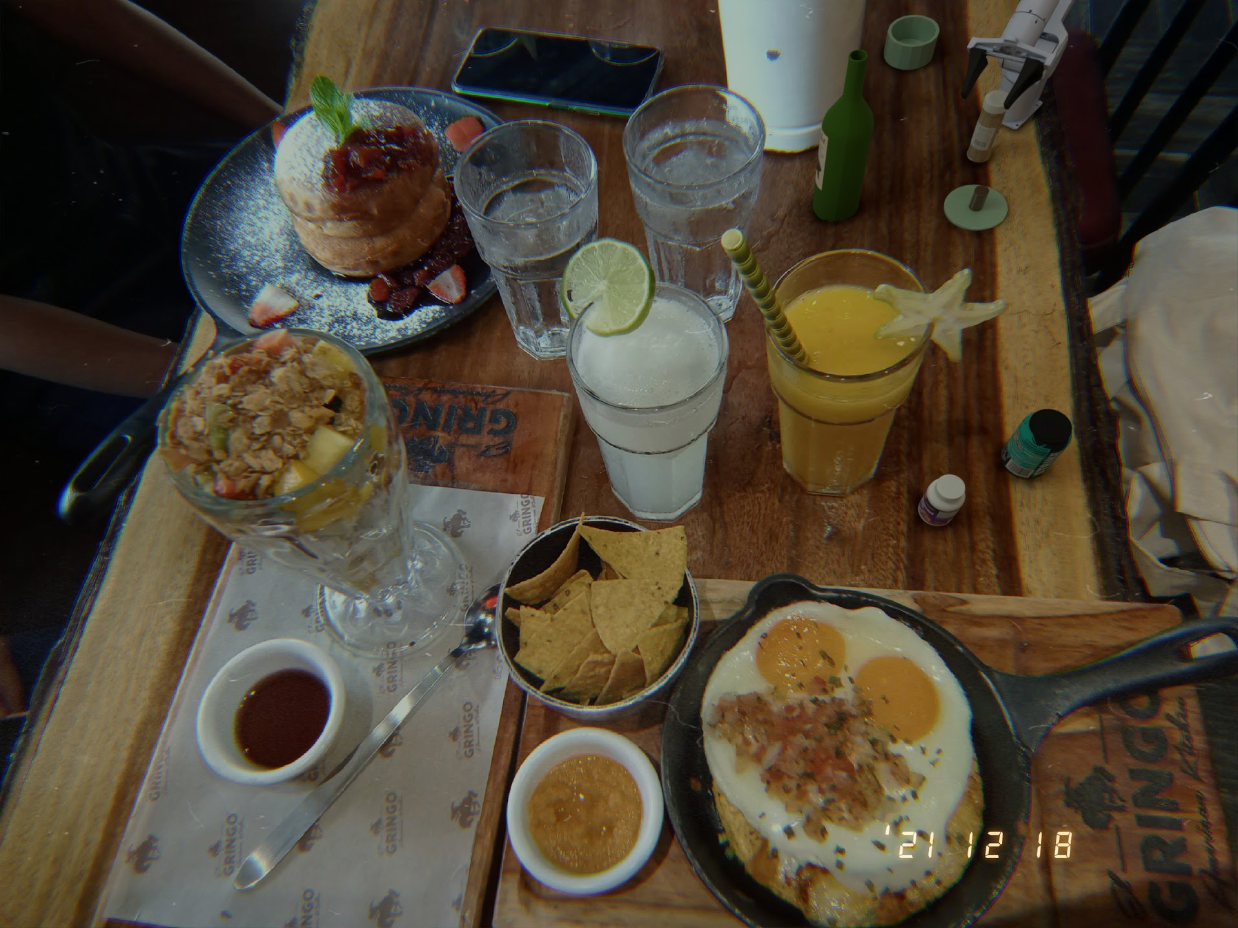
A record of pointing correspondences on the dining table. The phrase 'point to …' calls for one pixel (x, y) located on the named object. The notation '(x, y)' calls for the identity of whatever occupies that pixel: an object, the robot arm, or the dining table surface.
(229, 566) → the dining table surface
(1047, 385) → the dining table surface
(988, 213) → the canister lid
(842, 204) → the wine bottle
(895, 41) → the canister
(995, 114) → the sprinkles bottle
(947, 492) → the pill bottle
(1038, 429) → the teal spice jar
